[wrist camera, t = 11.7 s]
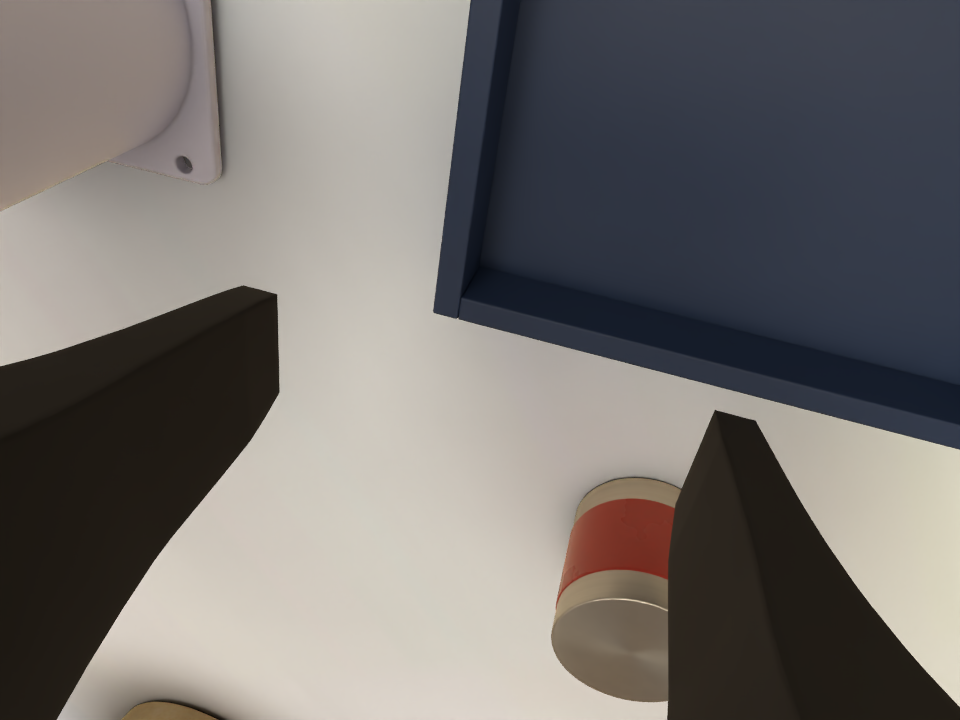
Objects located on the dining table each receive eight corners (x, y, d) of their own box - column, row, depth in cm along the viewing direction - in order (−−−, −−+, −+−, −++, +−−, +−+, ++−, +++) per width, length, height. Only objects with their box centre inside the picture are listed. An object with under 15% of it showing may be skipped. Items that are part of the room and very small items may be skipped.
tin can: (558, 548, 27) (532, 668, 23) (597, 457, 24) (575, 575, 20) (682, 592, 26) (678, 722, 22) (737, 505, 24) (743, 635, 20)
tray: (456, 275, 22) (432, 313, 20) (550, -415, 13) (525, -460, 12) (1003, 414, 20) (1034, 470, 18) (1511, -294, 11) (1668, -327, 10)
